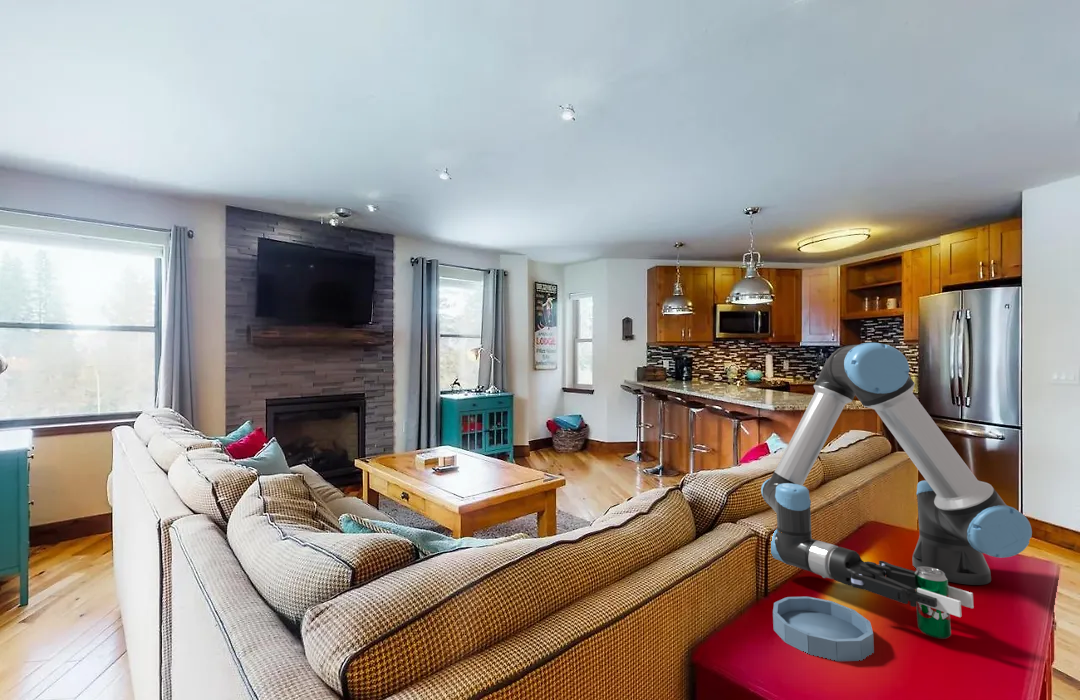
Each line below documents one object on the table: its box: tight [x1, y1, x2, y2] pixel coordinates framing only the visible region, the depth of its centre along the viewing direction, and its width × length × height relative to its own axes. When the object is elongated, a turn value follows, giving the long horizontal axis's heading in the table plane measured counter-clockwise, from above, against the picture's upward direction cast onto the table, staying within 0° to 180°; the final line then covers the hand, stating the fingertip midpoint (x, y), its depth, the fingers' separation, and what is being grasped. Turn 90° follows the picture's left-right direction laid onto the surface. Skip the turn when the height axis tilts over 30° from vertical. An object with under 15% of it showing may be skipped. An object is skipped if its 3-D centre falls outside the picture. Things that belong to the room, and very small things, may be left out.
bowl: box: [772, 596, 875, 662], centre depth 94 cm, size 17×17×4 cm
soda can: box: [915, 566, 952, 640], centre depth 93 cm, size 5×5×12 cm
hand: (966, 604), depth 88 cm, fingers closed on soda can, 5 cm apart
